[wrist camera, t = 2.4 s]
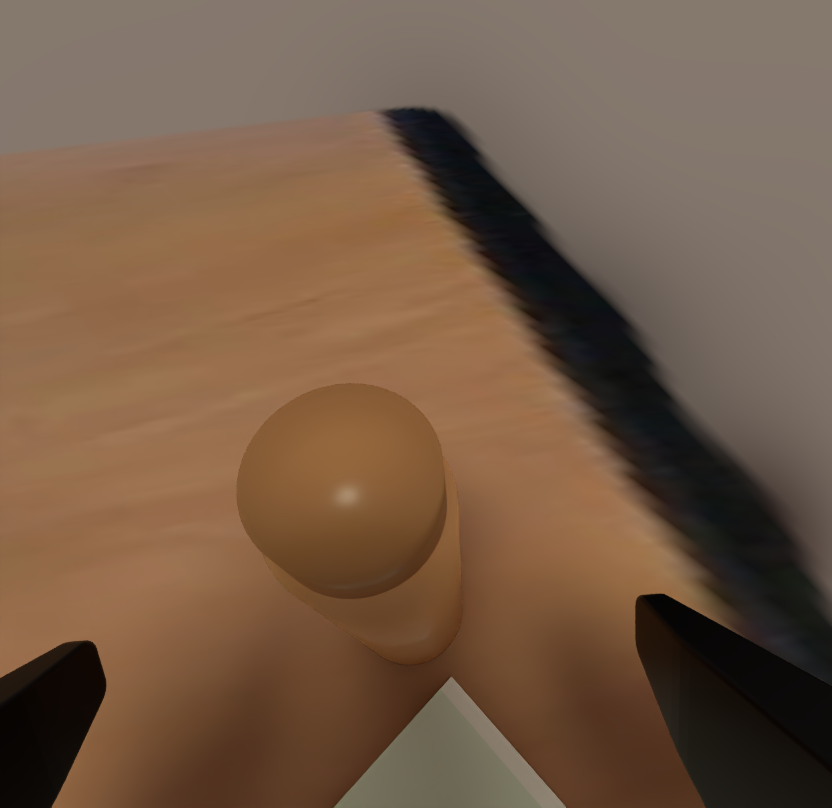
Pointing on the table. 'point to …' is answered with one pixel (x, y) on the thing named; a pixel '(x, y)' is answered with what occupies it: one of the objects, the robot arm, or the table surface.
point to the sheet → (450, 764)
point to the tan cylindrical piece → (359, 517)
